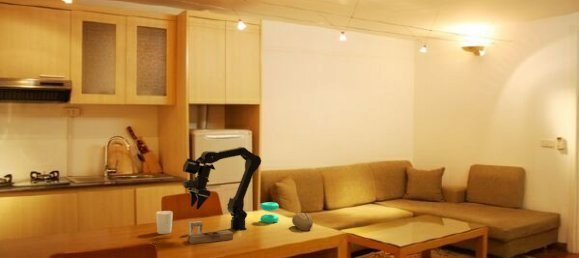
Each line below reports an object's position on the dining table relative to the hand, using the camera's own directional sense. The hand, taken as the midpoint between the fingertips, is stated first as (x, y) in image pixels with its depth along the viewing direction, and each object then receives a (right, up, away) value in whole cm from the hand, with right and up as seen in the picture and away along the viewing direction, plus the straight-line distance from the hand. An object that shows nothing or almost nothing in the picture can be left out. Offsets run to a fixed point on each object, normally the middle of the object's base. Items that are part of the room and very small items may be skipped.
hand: (194, 207), depth 247 cm
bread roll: (+53, -13, +16) cm, 57 cm away
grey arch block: (+1, -13, 0) cm, 13 cm away
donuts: (+35, -13, +31) cm, 49 cm away
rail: (+10, -13, -11) cm, 20 cm away
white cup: (-16, -13, +3) cm, 21 cm away
